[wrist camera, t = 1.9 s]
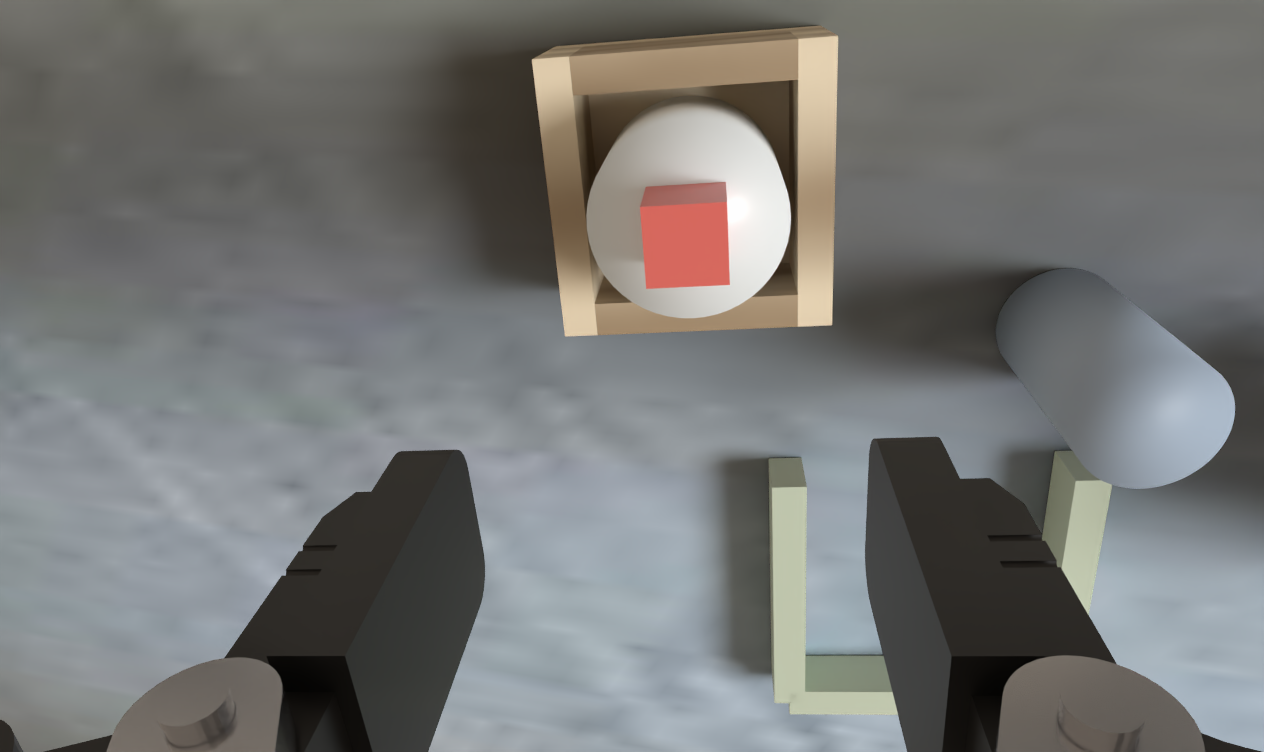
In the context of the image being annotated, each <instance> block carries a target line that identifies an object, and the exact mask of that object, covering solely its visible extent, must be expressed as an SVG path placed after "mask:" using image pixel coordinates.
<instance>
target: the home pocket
mask: <svg viewBox="0 0 1264 752" xmlns="http://www.w3.org/2000/svg"><path fill="white" fill-rule="evenodd" d="M1111 489H1112V485H1111V484H1109V483H1106V482H1104V481H1102V480H1100V479H1098V478H1096V477H1095V476H1094V475H1092V474H1091V473H1090V472H1089V471H1088V470H1087V469H1086V468H1085V467H1084V466H1083V465H1082V463H1081V462H1080V461H1079V459H1078V458H1077V456H1076V455H1075V454H1074V452H1073V451H1055V453H1054V460H1053V467H1052V474H1051V481H1050V487H1049V494H1048V501H1047V508H1046V514H1045V521H1044V528H1043V535H1042V541H1046V543H1047V544H1048V546H1049V548H1050V550H1051V551H1052V553H1053V555H1054V557H1055V558H1056V560H1057V567H1061V569H1062V570H1063V572H1064V574H1065V576H1066V577H1067V579H1068V581H1069V582H1070V584H1071V586H1072V588H1073V589H1074V591H1075V593H1076V595H1077V596H1078V598H1079V600H1080V601H1081V603H1082V605H1083V607H1084V608H1085V610H1086V612H1087V614H1089V609H1090V604H1091V598H1092V593H1093V587H1094V582H1095V576H1096V571H1097V565H1098V560H1099V554H1100V549H1101V544H1102V538H1103V533H1104V527H1105V522H1106V516H1107V511H1108V505H1109V500H1110V494H1111ZM806 503H807V486H806V481H805V475H804V470H803V464H802V459H801V458H769V524H770V596H771V667H772V678H773V690H774V702H775V703H789V711H790V714H864V715H898V712H897V708H896V704H895V700H894V696H893V692H892V688H891V684H890V680H889V676H888V672H887V668H886V664H885V660H884V656H805V632H806Z"/></svg>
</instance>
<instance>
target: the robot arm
mask: <svg viewBox="0 0 1264 752" xmlns="http://www.w3.org/2000/svg"><path fill="white" fill-rule="evenodd" d="M865 564H866V578H867V587H868V594H869V599H870V604H871V608H872V612H873V616H874V620H875V624H876V628H877V632H878V636H879V640H880V644H881V648H882V652H883V656H884V660H885V664H886V668H887V672H888V676H889V680H890V684H891V688H892V692H893V696H894V700H895V704H896V708H897V712H898V716H899V720H900V724H901V728H902V732H903V736H904V740H905V744H906V748H907V752H1261V751H1257V750H1253V749H1249V748H1244V747H1241V746H1237V745H1234V744H1230V743H1227V742H1223V741H1221V740H1218V739H1215V738H1213V737H1210V736H1207V735H1205V734H1202V733H1201V732H1200V730H1199V728H1198V726H1197V724H1196V723H1195V721H1194V719H1193V718H1192V717H1191V715H1190V714H1189V713H1188V711H1187V710H1186V709H1185V707H1184V706H1183V705H1182V704H1181V703H1180V702H1179V701H1178V700H1177V699H1175V698H1174V697H1173V696H1172V695H1171V694H1170V693H1168V692H1167V691H1166V690H1165V689H1163V688H1162V687H1161V686H1159V685H1158V684H1156V683H1154V682H1153V681H1151V680H1150V679H1148V678H1146V677H1144V676H1142V675H1140V674H1138V673H1136V672H1134V671H1132V670H1130V669H1128V668H1125V667H1122V666H1120V665H1117V664H1116V662H1115V660H1114V659H1113V657H1112V655H1111V653H1110V652H1109V650H1108V648H1107V646H1106V645H1105V643H1104V641H1103V640H1102V638H1101V636H1100V634H1099V633H1098V631H1097V629H1096V627H1095V626H1094V624H1093V622H1092V620H1091V619H1090V617H1089V615H1088V614H1087V612H1086V610H1085V608H1084V607H1083V605H1082V603H1081V601H1080V600H1079V598H1078V596H1077V595H1076V593H1075V591H1074V589H1073V588H1072V586H1071V584H1070V582H1069V581H1068V579H1067V577H1066V576H1065V574H1064V572H1063V570H1062V569H1061V567H1057V560H1056V558H1055V557H1054V555H1053V553H1052V551H1051V550H1050V548H1049V546H1048V544H1047V543H1046V541H1042V534H1041V532H1040V531H1039V529H1038V527H1037V525H1036V524H1035V522H1034V520H1033V518H1032V517H1031V515H1030V513H1029V512H1028V510H1027V508H1026V506H1025V505H1024V503H1022V502H1021V501H1020V500H1018V499H1017V498H1016V497H1014V496H1013V495H1012V494H1010V493H1009V492H1008V491H1006V490H1005V489H1003V488H1002V487H1001V486H999V485H998V484H997V483H995V482H994V481H993V480H991V479H990V478H980V479H960V478H959V476H958V474H957V472H956V470H955V468H954V465H953V463H952V461H951V459H950V457H949V455H948V453H947V451H946V449H945V447H944V445H943V443H942V441H941V439H940V438H939V437H915V438H880V439H873V440H872V442H871V446H870V453H869V470H868V494H867V518H866V542H865ZM484 581H485V561H484V553H483V547H482V541H481V536H480V531H479V525H478V520H477V514H476V509H475V504H474V498H473V493H472V488H471V482H470V477H469V471H468V467H467V463H466V460H465V457H464V455H463V454H462V452H461V451H460V450H431V451H401V452H398V453H397V454H396V455H395V456H394V457H393V459H392V460H391V462H390V463H389V465H388V467H387V468H386V470H385V471H384V473H383V474H382V476H381V477H380V479H379V481H378V482H377V484H376V485H375V487H374V488H373V490H372V492H356V493H354V494H353V495H352V496H350V497H349V498H348V499H346V500H345V501H344V502H342V503H341V504H340V505H338V506H337V507H336V508H334V509H333V510H332V511H330V512H329V513H328V514H326V515H325V516H324V517H323V518H322V519H321V520H320V522H319V523H318V525H317V526H316V528H315V529H314V530H313V532H312V533H311V535H310V536H309V538H308V539H307V540H306V542H305V543H304V545H303V551H299V552H298V553H297V555H296V556H295V558H294V559H293V561H292V562H291V563H290V565H289V566H288V568H287V569H286V576H281V578H280V579H279V581H278V582H277V583H276V585H275V586H274V588H273V589H272V591H271V592H270V593H269V595H268V596H267V598H266V599H265V601H264V602H263V603H262V605H261V606H260V608H259V609H258V611H257V612H256V614H255V615H254V616H253V618H252V619H251V621H250V622H249V624H248V625H247V626H246V628H245V629H244V631H243V632H242V634H241V635H240V636H239V638H238V639H237V641H236V642H235V644H234V645H233V646H232V648H231V649H230V651H229V652H228V654H227V655H226V656H225V658H223V659H218V660H212V661H209V662H205V663H202V664H198V665H196V666H193V667H190V668H188V669H185V670H183V671H181V672H179V673H177V674H175V675H173V676H171V677H169V678H167V679H166V680H164V681H162V682H161V683H159V684H158V685H156V686H155V687H153V688H152V689H151V690H149V691H148V692H147V693H145V694H144V695H143V696H142V697H141V698H140V699H139V700H137V701H136V702H135V703H134V704H133V705H132V706H131V708H130V709H129V710H128V711H127V712H126V713H125V714H124V716H123V717H122V719H121V720H120V722H119V723H118V725H117V726H116V729H115V731H114V733H113V735H110V736H106V737H102V738H98V739H94V740H90V741H86V742H82V743H78V744H74V745H70V746H66V747H62V748H57V749H53V750H49V751H45V752H428V750H429V747H430V745H431V742H432V739H433V736H434V733H435V731H436V728H437V725H438V722H439V719H440V717H441V714H442V711H443V708H444V705H445V703H446V700H447V697H448V694H449V691H450V689H451V686H452V683H453V680H454V678H455V675H456V672H457V669H458V666H459V664H460V661H461V658H462V655H463V652H464V650H465V647H466V644H467V641H468V638H469V636H470V633H471V630H472V627H473V624H474V622H475V619H476V616H477V613H478V610H479V608H480V604H481V601H482V597H483V591H484ZM0 752H23V750H22V748H21V747H20V745H19V743H18V741H17V739H16V737H15V735H14V733H13V731H12V729H11V727H10V726H9V725H8V724H7V723H5V722H4V721H2V720H0Z"/></svg>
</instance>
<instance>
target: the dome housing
mask: <svg viewBox="0 0 1264 752" xmlns="http://www.w3.org/2000/svg"><path fill="white" fill-rule="evenodd" d="M837 60H838V36H837V35H836V34H834V33H832V32H830V31H829V30H827V29H825V28H824V27H822V26H808V27H796V28H783V29H770V30H757V31H744V32H732V33H719V34H706V35H693V36H681V37H668V38H655V39H642V40H629V41H617V42H604V43H591V44H578V45H566V46H555V47H554V48H552V49H550V50H548V51H546V52H544V53H543V54H541V55H539V56H537V57H535V58H534V59H532V65H533V73H534V82H535V90H536V98H537V107H538V115H539V123H540V131H541V140H542V148H543V156H544V165H545V173H546V181H547V189H548V198H549V206H550V214H551V223H552V231H553V239H554V247H555V256H556V264H557V272H558V281H559V289H560V297H561V305H562V314H563V322H564V330H565V336H587V335H611V334H635V333H658V332H682V331H706V330H730V329H754V328H778V327H802V326H826V325H832V305H833V256H834V207H835V158H836V109H837ZM680 96H705V97H711V98H715V99H719V100H722V101H724V102H727V103H729V104H731V105H733V106H735V107H737V108H738V109H740V110H742V111H743V112H744V113H746V114H747V115H748V116H749V117H751V118H752V119H753V120H754V121H755V122H756V123H757V125H758V126H759V127H760V128H761V129H762V131H763V132H764V134H765V135H766V136H767V138H768V140H769V142H770V144H771V146H772V148H773V151H774V153H775V156H776V159H777V162H778V165H779V168H780V171H781V174H782V177H783V180H784V183H785V186H786V189H787V192H788V197H789V202H790V211H791V225H790V234H789V239H788V244H787V247H786V249H785V252H784V255H783V257H782V259H781V261H780V263H779V265H778V267H777V269H776V270H775V272H774V273H773V275H772V276H771V278H770V279H769V280H768V281H767V283H766V284H765V285H764V286H763V287H762V288H761V289H760V290H759V291H758V292H757V293H755V294H754V295H753V296H752V297H751V298H749V299H748V300H746V301H745V302H743V303H742V304H740V305H738V306H736V307H734V308H732V309H730V310H728V311H725V312H722V313H719V314H716V315H712V316H707V317H700V318H676V317H669V316H664V315H661V314H657V313H654V312H651V311H649V310H646V309H644V308H642V307H640V306H638V305H637V304H635V303H633V302H631V301H630V300H629V299H627V298H626V297H625V296H623V295H622V294H621V293H620V292H619V291H618V290H617V289H616V288H614V287H613V286H612V284H611V283H610V282H609V281H608V279H607V278H606V277H605V276H604V274H603V272H602V271H601V269H600V268H599V266H598V264H597V262H596V260H595V258H594V255H593V253H592V250H591V246H590V243H589V239H588V233H587V219H586V215H587V204H588V199H589V195H590V191H591V188H592V185H593V183H594V180H595V177H596V176H597V174H598V172H599V170H600V168H601V166H602V164H603V162H604V161H605V159H606V157H607V155H608V153H609V151H610V149H611V147H612V146H613V144H614V142H615V140H616V138H617V137H618V135H619V134H620V132H621V131H622V130H623V128H624V127H625V126H626V125H627V124H628V123H629V122H630V121H631V120H632V119H633V118H634V117H635V116H636V115H638V114H639V113H640V112H641V111H643V110H645V109H646V108H648V107H650V106H651V105H654V104H656V103H658V102H660V101H663V100H666V99H670V98H674V97H680Z"/></svg>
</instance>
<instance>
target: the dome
mask: <svg viewBox="0 0 1264 752" xmlns="http://www.w3.org/2000/svg"><path fill="white" fill-rule="evenodd" d="M586 219H587V233H588V239H589V243H590V246H591V250H592V253H593V255H594V258H595V260H596V262H597V264H598V266H599V268H600V269H601V271H602V272H603V274H604V276H605V277H606V278H607V279H608V281H609V282H610V283H611V284H612V286H613V287H614V288H616V289H617V290H618V291H619V292H620V293H621V294H622V295H623V296H625V297H626V298H627V299H629V300H630V301H631V302H633V303H635V304H637V305H638V306H640V307H642V308H644V309H646V310H649V311H651V312H654V313H657V314H661V315H664V316H669V317H676V318H700V317H707V316H712V315H716V314H719V313H722V312H725V311H728V310H730V309H732V308H734V307H736V306H738V305H740V304H742V303H743V302H745V301H746V300H748V299H749V298H751V297H752V296H753V295H754V294H755V293H757V292H758V291H759V290H760V289H761V288H762V287H763V286H764V285H765V284H766V283H767V281H768V280H769V279H770V278H771V276H772V275H773V273H774V272H775V270H776V269H777V267H778V265H779V263H780V261H781V259H782V257H783V255H784V252H785V249H786V247H787V244H788V239H789V234H790V225H791V211H790V202H789V197H788V192H787V189H786V186H785V183H784V180H783V177H782V174H781V171H780V168H779V165H778V162H777V159H776V156H775V153H774V151H773V148H772V146H771V144H770V142H769V140H768V138H767V136H766V135H765V134H764V132H763V131H762V129H761V128H760V127H759V126H758V125H757V123H756V122H755V121H754V120H753V119H752V118H751V117H749V116H748V115H747V114H746V113H744V112H743V111H742V110H740V109H738V108H737V107H735V106H733V105H731V104H729V103H727V102H724V101H722V100H719V99H715V98H711V97H705V96H680V97H674V98H670V99H666V100H663V101H660V102H658V103H656V104H654V105H651V106H650V107H648V108H646V109H645V110H643V111H641V112H640V113H639V114H638V115H636V116H635V117H634V118H633V119H632V120H631V121H630V122H629V123H628V124H627V125H626V126H625V127H624V128H623V130H622V131H621V132H620V134H619V135H618V137H617V138H616V140H615V142H614V144H613V146H612V147H611V149H610V151H609V153H608V155H607V157H606V159H605V161H604V162H603V164H602V166H601V168H600V170H599V172H598V174H597V176H596V177H595V180H594V183H593V185H592V188H591V191H590V195H589V199H588V204H587V215H586Z"/></svg>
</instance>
